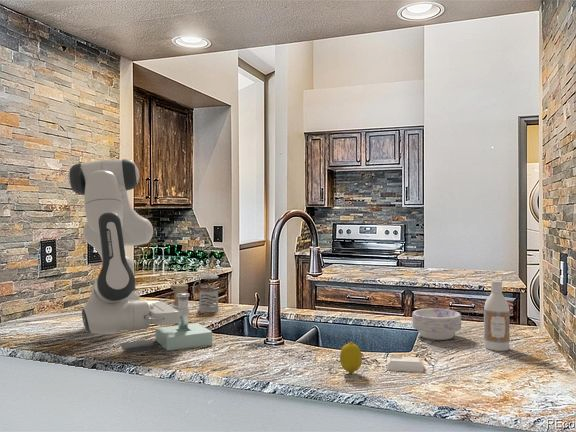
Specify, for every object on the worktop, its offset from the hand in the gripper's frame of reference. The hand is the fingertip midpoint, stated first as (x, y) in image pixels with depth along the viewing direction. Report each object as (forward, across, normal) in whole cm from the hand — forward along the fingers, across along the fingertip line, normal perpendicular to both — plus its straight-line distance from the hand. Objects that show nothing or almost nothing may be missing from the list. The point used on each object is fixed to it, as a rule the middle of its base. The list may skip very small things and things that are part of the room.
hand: (185, 310), depth 154 cm
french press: (+23, +46, +10) cm, 53 cm away
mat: (-14, +2, +10) cm, 17 cm away
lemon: (+27, -50, +11) cm, 58 cm away
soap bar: (+42, -53, +11) cm, 69 cm away
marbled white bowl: (+73, -34, +10) cm, 81 cm away
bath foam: (+78, -53, +10) cm, 95 cm away
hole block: (-1, 0, +10) cm, 10 cm away
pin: (-1, 0, +6) cm, 6 cm away
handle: (+4, +21, +10) cm, 24 cm away
